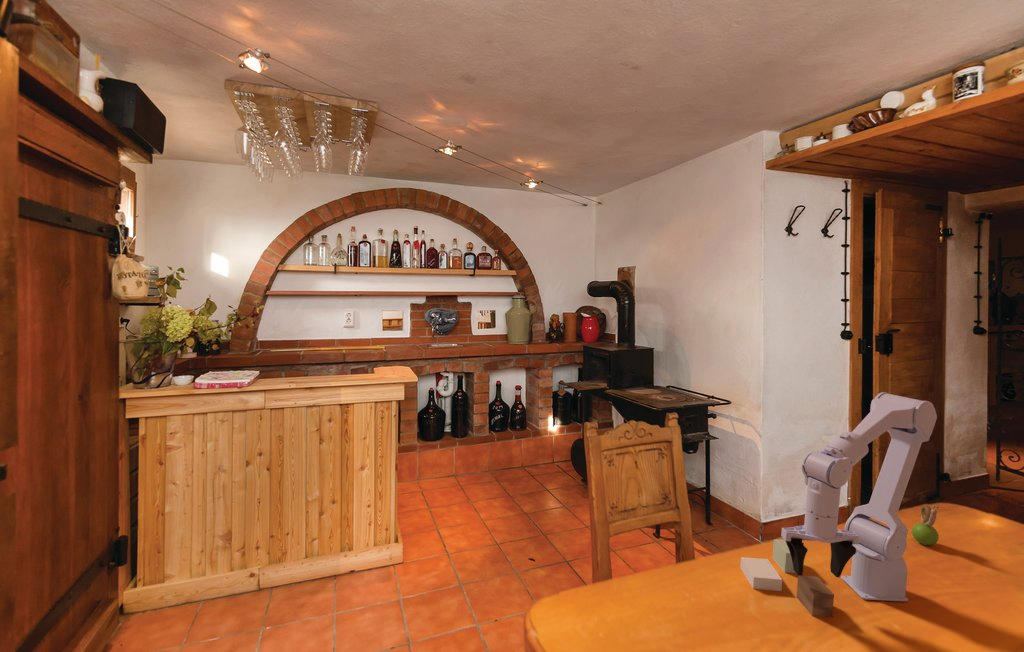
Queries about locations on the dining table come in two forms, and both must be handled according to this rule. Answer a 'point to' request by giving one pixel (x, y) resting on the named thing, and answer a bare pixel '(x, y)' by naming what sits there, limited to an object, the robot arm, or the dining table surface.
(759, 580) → the pale grey brick
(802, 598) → the walnut brick
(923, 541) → the green egg with ears
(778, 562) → the sage brick
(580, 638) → the dining table surface
